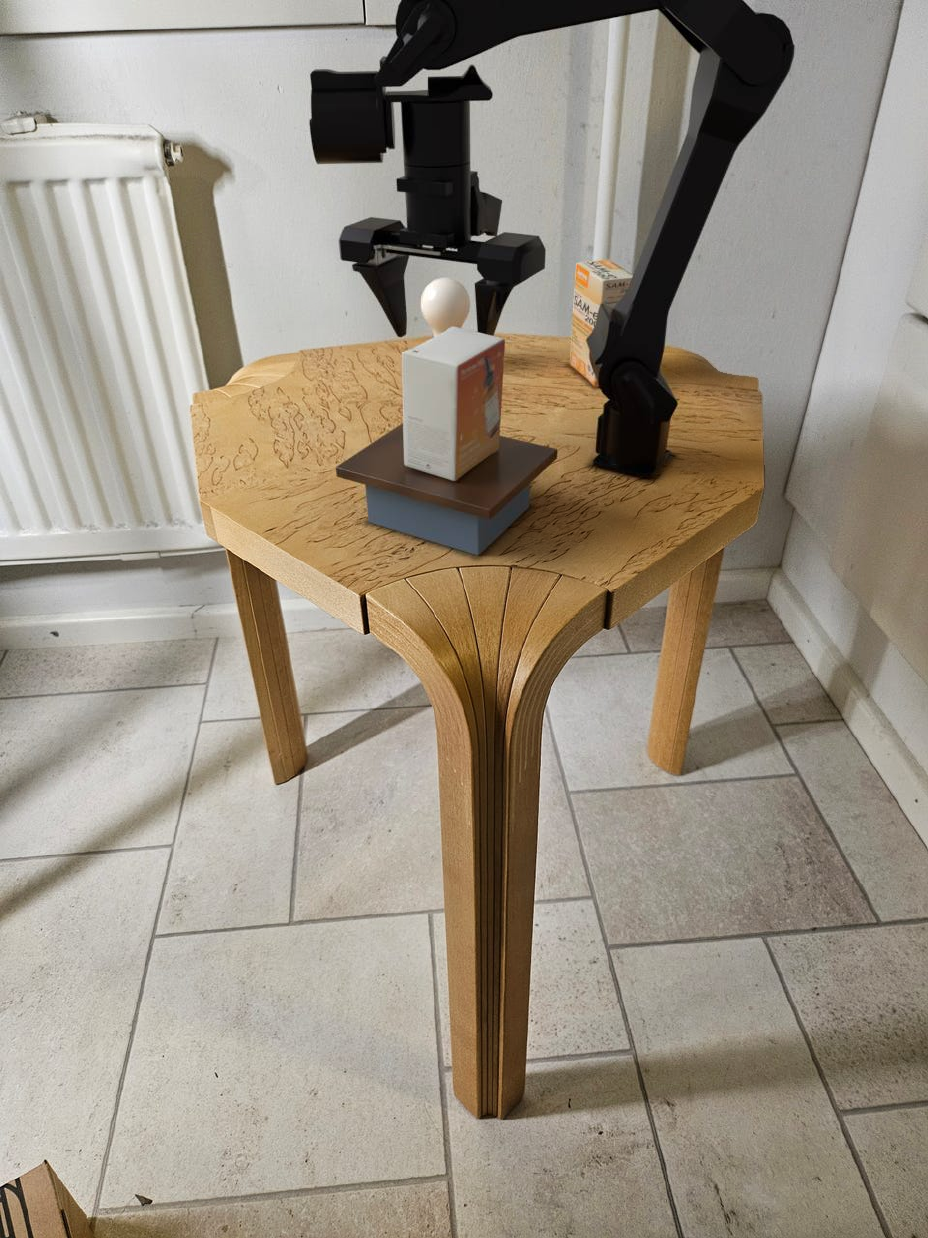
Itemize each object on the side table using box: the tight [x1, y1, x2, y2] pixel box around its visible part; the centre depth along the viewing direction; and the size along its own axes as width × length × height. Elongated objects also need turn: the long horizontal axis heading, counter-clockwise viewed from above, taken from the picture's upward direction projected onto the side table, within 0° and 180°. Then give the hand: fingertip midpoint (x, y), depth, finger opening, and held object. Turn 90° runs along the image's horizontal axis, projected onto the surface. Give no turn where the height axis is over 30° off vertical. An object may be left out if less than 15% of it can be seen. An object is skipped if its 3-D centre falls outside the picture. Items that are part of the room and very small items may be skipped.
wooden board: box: [335, 422, 559, 520], centre depth 79 cm, size 16×13×1 cm
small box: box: [401, 327, 506, 481], centre depth 75 cm, size 8×6×10 cm
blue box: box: [364, 483, 531, 556], centre depth 80 cm, size 12×10×5 cm
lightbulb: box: [420, 276, 471, 337], centre depth 111 cm, size 6×6×11 cm
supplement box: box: [569, 258, 634, 388], centre depth 106 cm, size 8×5×13 cm, turn 17°
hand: (442, 342), depth 82 cm, fingers open, 9 cm apart
